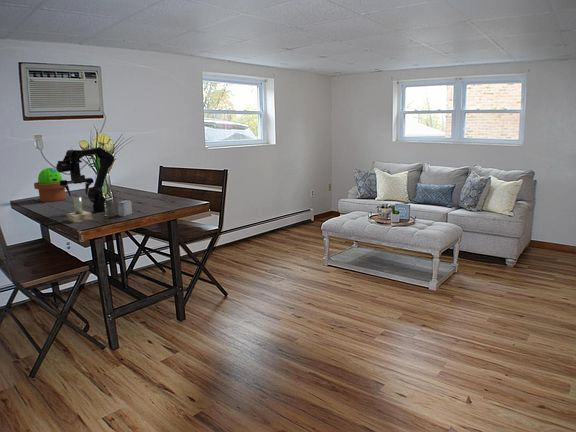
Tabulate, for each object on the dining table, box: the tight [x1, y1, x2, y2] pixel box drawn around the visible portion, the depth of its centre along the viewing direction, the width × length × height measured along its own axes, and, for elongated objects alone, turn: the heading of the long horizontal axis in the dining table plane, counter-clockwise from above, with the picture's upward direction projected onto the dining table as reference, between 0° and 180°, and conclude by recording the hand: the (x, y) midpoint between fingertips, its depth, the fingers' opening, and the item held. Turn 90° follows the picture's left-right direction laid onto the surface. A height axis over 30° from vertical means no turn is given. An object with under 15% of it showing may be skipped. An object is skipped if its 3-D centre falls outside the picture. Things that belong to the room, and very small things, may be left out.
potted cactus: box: [33, 167, 67, 203], centre depth 329 cm, size 22×22×25 cm
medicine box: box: [117, 199, 133, 217], centre depth 274 cm, size 8×4×9 cm, turn 163°
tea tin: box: [72, 195, 84, 214], centre depth 262 cm, size 5×5×10 cm
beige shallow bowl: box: [66, 210, 94, 224], centre depth 264 cm, size 11×11×4 cm
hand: (78, 195), depth 272 cm, fingers open, 9 cm apart
